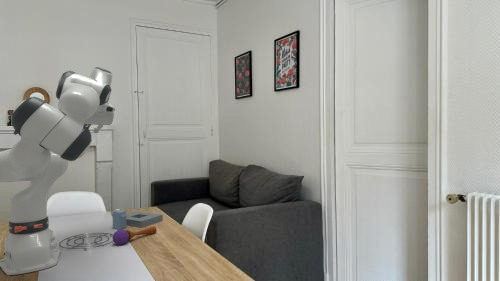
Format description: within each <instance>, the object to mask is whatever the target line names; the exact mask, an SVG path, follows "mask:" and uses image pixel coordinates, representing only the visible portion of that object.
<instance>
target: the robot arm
mask: <svg viewBox="0 0 500 281" xmlns="http://www.w3.org/2000/svg"><path fill="white" fill-rule="evenodd" d="M112 81H113V73H112V72H111V71H110V70H108V69H105V68H102V67H99V66H96V67H95V66H94V67H93V68H92V71H91V72H90V75H89V77H88V76H85V75H82V74H79V73H77V72H74V71H72V70H67V71H65V72H63V73H62V74H61V76H60V77H59V80H58V82H57V88H56V91H55V97H56V98H57V100H58V102H57V103H58V104H57V108H56V107H55V106H53V105H51V104H49V103H47V101H46V100H44V99H42V98H40V97H37V96H30V97H28V98H26V99H23V100H21V101H19V103H18V104H17V105H16V106H15V107H14V110H12V114H11V116H10V121H11V126H12V128H13V129H14V131H13V135H14V136H16V135H18V136H19V137H21V139H20V140H19V141H17V143H15V144H13V145H14V146H12V148H9V149H6V150H2V151H0V183H17V182H27V181H29V182H30V184H29V186H28V187H27V188H25V189H23V190H21V191H19V192H17V193H15V194H14V195H13V196H12V197H11V198H10V201H9V218H10V220H9V222H8V232H9V234H8V235H7V236H5V238H4V252H3V256H4V258H2V259H0V268H1V270H2V271H3V273H5V275H7V276H12V275H13V276H14V275H23V274H27V273H31V272H32V273H33V272H38V271H41V270H46V269H49V268H52V267H54V266H55V267H56V265H57V263H58V261H59V258H60V255H61V249H59V248H57V241H55V240H56V236H55V235H54V230H52V229H50V228H49V226H50V225H49V223H50V221H49V216H48V209H47V207H48V196H49V193H50V190H51V188H52V186H53V185H54V183H55V182H56V181H57V180H59V178H60V177H62V176H63V175H64V174H65V173H66V172H67V169H68V167H69V162H74V161H76V160H78V159H80V158H82V157H83V156H84V155H86V153H88V151H89V149H90V147H91V143H92V139H93V138H92V133H91V131H90V127H91V126H90V125H94V126H95V125H96V127H95V128H94V129H93V133H94V134H99V132H100V130H101V129H102V128H103V127H104V126H110V125H112V124H113V122H114V118H115V113H114V112H115V111H116V108H115V107H114V105H112V103H110V102H109V100H110V96H111V93H112V88H111V87H112V86H111V85H112Z"/></svg>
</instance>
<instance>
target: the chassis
mask: <svg viewBox="0 0 500 281" xmlns="http://www.w3.org/2000/svg"><path fill="white" fill-rule="evenodd" d="M126 215H127V216H126V226H129V227H136V228H145V227H148V226H151V225H154V224H157V223H159V222H163V221H164V219H163V218H164V216H163V214H158V213H151V212H144V211H138V210H137V211H134V212H130V213H126Z"/></svg>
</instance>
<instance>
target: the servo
mask: <svg viewBox="0 0 500 281" xmlns="http://www.w3.org/2000/svg"><path fill="white" fill-rule="evenodd" d="M111 213H112V214H111V217H112V229H113V230H116V231H117V230H120V229H123V230H125V229H127V225H126V216H127V215H126V214H127V211H126V210H123V209H120V208H116V209H115V211H112V212H111Z"/></svg>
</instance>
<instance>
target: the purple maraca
mask: <svg viewBox="0 0 500 281" xmlns="http://www.w3.org/2000/svg"><path fill="white" fill-rule="evenodd" d="M157 230H158V229H157V226H155V225H154V226H153V225H152V226H150V227H147V228H145V229H142V230H141V229H140V230H139V231H136V232H133V231H131V230H125V229H120V230H117V229H116V231H114V233H113V234H112V241H113V242H114V244H116V245H119V246H121V245H124V244H126V243H128V242H129V241H131V240H132V239H133V238H134V237H135V236H142V235H154V234H157Z"/></svg>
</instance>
